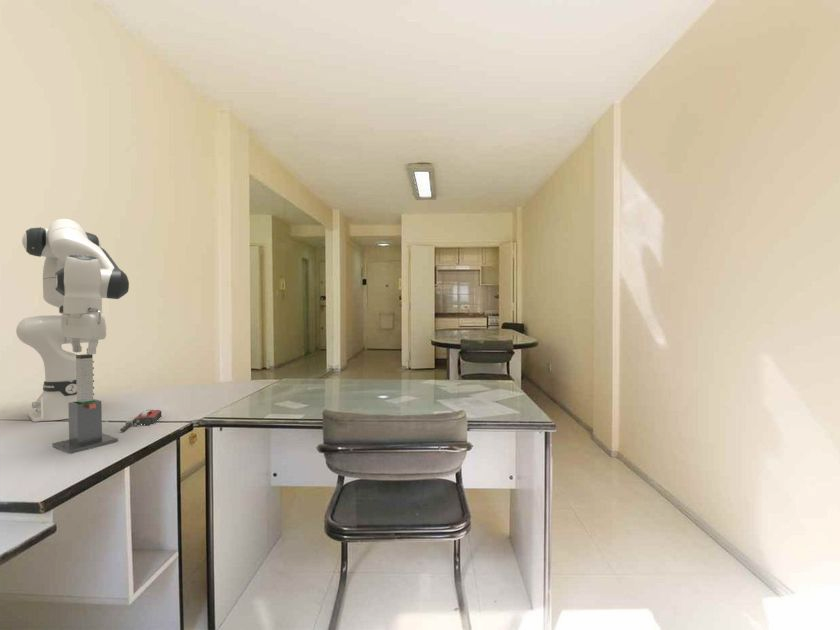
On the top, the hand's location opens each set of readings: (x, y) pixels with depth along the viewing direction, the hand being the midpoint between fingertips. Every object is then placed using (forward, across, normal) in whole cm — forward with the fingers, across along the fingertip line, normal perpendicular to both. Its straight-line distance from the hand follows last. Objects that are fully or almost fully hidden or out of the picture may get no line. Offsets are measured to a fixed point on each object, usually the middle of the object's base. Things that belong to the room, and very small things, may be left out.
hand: (84, 353), depth 122 cm
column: (+21, 0, 0) cm, 21 cm away
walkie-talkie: (+29, +8, -20) cm, 36 cm away
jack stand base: (+28, 0, 0) cm, 28 cm away
